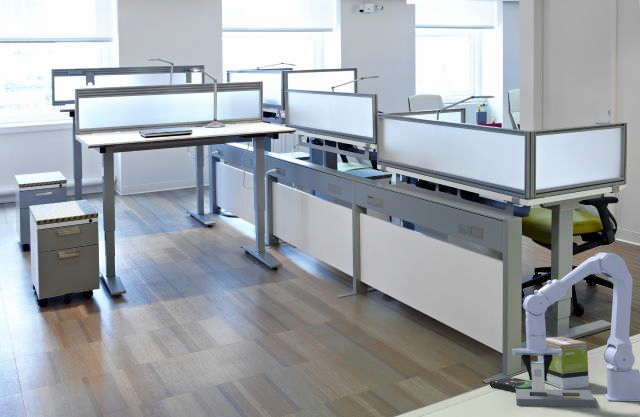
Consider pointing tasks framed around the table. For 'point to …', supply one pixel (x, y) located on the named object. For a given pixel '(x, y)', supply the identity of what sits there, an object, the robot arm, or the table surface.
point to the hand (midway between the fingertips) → (537, 379)
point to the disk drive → (511, 384)
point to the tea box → (567, 363)
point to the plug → (537, 376)
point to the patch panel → (555, 398)
